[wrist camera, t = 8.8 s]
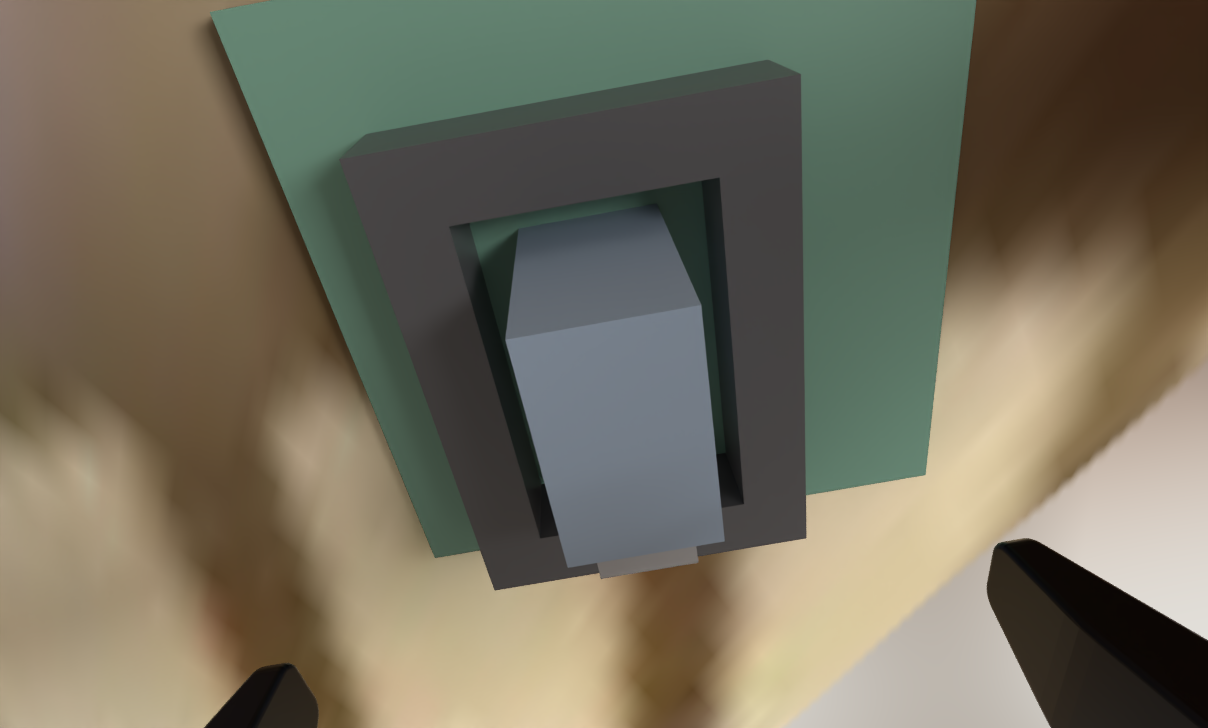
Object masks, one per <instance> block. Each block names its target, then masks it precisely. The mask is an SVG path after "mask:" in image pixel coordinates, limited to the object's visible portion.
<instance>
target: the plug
mask: <svg viewBox="0 0 1208 728" xmlns="http://www.w3.org/2000/svg"><path fill="white" fill-rule="evenodd" d="M505 341H506V344H507V348H508V351H509V355H510V359H511V362H512V366H513V370H514V373H515V377H516V381H517V384H518V388H519V392H520V395H521V399H522V403H523V406H524V410H525V414H526V417H527V421H528V424H529V428H530V432H531V435H532V439H533V443H534V446H535V450H536V454H537V457H538V461H539V465H540V468H541V472H542V476H543V479H544V483H545V487H546V490H547V494H548V497H549V501H550V505H551V508H552V512H553V516H554V519H555V523H556V527H557V530H558V534H559V538H560V541H561V545H562V549H563V552H564V556H565V559H566V563H567V567H568V568H570V567H576V566H582V565H588V564H594V563H597V565H598V569H599V573H600V578H601V579H603V578H609V577H615V576H621V575H627V574H633V573H639V572H645V571H651V570H657V569H663V568H669V567H675V566H681V565H687V564H693V563H698V556H697V548H696V546H700V545H706V544H712V543H718V542H724V541H725V539H724V529H723V519H722V509H721V499H720V489H719V479H718V469H717V458H716V448H715V438H714V428H713V418H712V408H711V398H710V388H709V378H708V368H707V358H706V348H705V338H704V328H703V318H702V308H701V303H700V301H699V299H698V297H697V294H696V292H695V290H694V288H693V285H692V283H691V281H690V278H689V276H688V274H687V272H686V269H685V267H684V265H683V262H682V260H681V258H680V256H679V253H678V251H677V249H676V247H675V244H674V242H673V240H672V237H671V235H670V233H669V231H668V228H667V226H666V224H665V221H664V219H663V217H662V215H661V212H660V210H659V208H658V206H657V203H656V204H651V205H645V206H640V207H634V208H629V209H623V210H618V211H612V212H607V213H601V214H596V215H590V216H585V217H579V218H574V219H568V220H563V221H557V222H552V223H546V224H541V225H535V226H530V227H524V228H519V230H518V238H517V247H516V255H515V263H514V272H513V280H512V288H511V297H510V305H509V313H508V322H507V330H506V338H505Z"/></svg>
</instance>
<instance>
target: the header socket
mask: <svg viewBox="0 0 1208 728" xmlns="http://www.w3.org/2000/svg"><path fill="white" fill-rule="evenodd" d="M339 161H340V163H341V166H342V169H343V172H344V174H345V177H346V180H347V183H348V185H349V188H350V191H351V194H352V197H353V199H354V202H355V205H356V208H357V210H358V213H359V216H360V219H361V221H362V224H363V227H364V230H365V233H366V235H367V238H368V241H369V244H370V246H371V249H372V252H373V255H374V257H375V260H376V263H377V266H378V269H379V271H380V274H381V277H382V280H383V282H384V285H385V288H386V291H387V293H388V296H389V299H390V302H391V305H392V307H393V310H394V313H395V316H396V318H397V321H398V324H399V327H400V329H401V332H402V335H403V338H404V341H405V343H406V346H407V349H408V352H409V354H410V357H411V360H412V363H413V365H414V368H415V371H416V374H417V377H418V379H419V382H420V385H421V388H422V390H423V393H424V396H425V399H426V401H427V404H428V407H429V410H430V413H431V415H432V418H433V421H434V424H435V426H436V429H437V432H438V435H439V437H440V440H441V443H442V446H443V449H444V451H445V454H446V457H447V460H448V462H449V465H450V468H451V471H452V473H453V476H454V479H455V482H456V485H457V487H458V490H459V493H460V496H461V498H462V501H463V504H464V507H465V509H466V512H467V515H468V518H469V521H470V523H471V526H472V529H473V532H474V534H475V537H476V540H477V543H478V545H479V548H480V551H481V554H482V557H483V559H484V562H485V565H486V568H487V570H488V573H489V576H490V579H491V581H492V584H493V587H494V590H500V589H506V588H512V587H518V586H524V585H530V584H536V583H542V582H548V581H554V580H560V579H566V578H572V577H578V576H584V575H590V574H596V573H599V569H598V565H597V563H594V564H588V565H582V566H576V567H570V568H568V567H567V563H566V559H565V556H564V552H563V549H562V545H561V541H560V538H559V534H558V530H557V527H556V523H555V519H554V516H553V512H552V508H551V505H550V501H549V497H548V494H547V490H546V487H545V484H541V482H540V478H539V474H538V471H537V467H536V463H535V460H534V456H533V453H532V449H531V445H530V442H529V438H528V434H527V431H526V427H525V424H524V420H523V416H522V413H521V409H520V406H519V402H518V398H517V395H516V391H515V387H514V384H513V380H512V377H511V373H510V369H509V366H508V362H507V358H506V355H505V351H504V348H503V344H502V340H501V337H500V333H499V329H498V326H497V322H496V319H495V315H494V311H493V308H492V304H491V301H490V297H489V293H488V290H487V286H486V282H485V279H484V275H483V272H482V268H481V264H480V261H479V257H478V253H477V250H476V246H475V243H474V239H473V235H472V232H471V228H470V224H469V223H471V222H477V221H482V220H488V219H493V218H499V217H504V216H510V215H515V214H521V213H526V212H532V211H537V210H543V209H548V208H554V207H559V206H565V205H571V204H576V203H582V202H587V201H593V200H598V199H604V198H609V197H615V196H620V195H626V194H631V193H637V192H642V191H648V190H653V189H659V188H664V187H670V186H675V185H681V184H686V183H692V182H697V181H702V191H703V202H704V214H705V225H706V236H707V247H708V259H709V270H710V281H711V292H712V304H713V315H714V326H715V337H716V349H717V360H718V371H719V383H720V394H721V405H722V416H723V428H724V439H725V450H726V453H721V454H716V458H717V469H718V479H719V489H720V499H721V509H722V519H723V529H724V539H725V541H724V542H718V543H712V544H706V545H700V546H696V548H697V556H703V555H709V554H715V553H721V552H727V551H733V550H739V549H745V548H751V547H757V546H763V545H769V544H775V543H781V542H787V541H793V540H799V539H805V538H806V463H805V377H804V291H803V205H802V119H801V74H800V73H797V72H795V71H793V70H791V69H789V68H786V67H784V66H782V65H780V64H777V63H775V62H773V61H771V60H763V61H757V62H752V63H747V64H741V65H736V66H730V67H725V68H720V69H714V70H709V71H703V72H698V73H693V74H687V75H682V76H677V77H671V78H666V79H660V80H655V81H650V82H644V83H639V84H633V85H628V86H623V87H617V88H612V89H606V90H601V91H596V92H590V93H585V94H579V95H574V96H569V97H563V98H558V99H552V100H547V101H542V102H536V103H531V104H525V105H520V106H515V107H509V108H504V109H499V110H493V111H488V112H482V113H477V114H472V115H466V116H461V117H455V118H450V119H445V120H439V121H434V122H428V123H423V124H418V125H412V126H407V127H401V128H396V129H391V130H385V131H380V132H374V133H369V134H366V135H365V136H364V137H362V138H361V139H360V140H359V141H358V142H357V143H356V144H355V145H354V146H353V147H352V148H351V149H350V150H349V151H347V152H346V153H345V154H344V155H343V156H342V157H341V158H340V159H339Z"/></svg>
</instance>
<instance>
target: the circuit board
mask: <svg viewBox="0 0 1208 728" xmlns="http://www.w3.org/2000/svg"><path fill="white" fill-rule="evenodd" d="M975 8H976V0H271V1H265V2H260V3H255V4H250V5H244V6H239V7H234V8H229V9H224V10H218V11H213V12H210V14H211V17H212V19H213V22H214V24H215V26H216V29H217V31H218V34H219V36H220V39H221V41H222V43H223V46H224V48H225V51H226V53H227V55H228V58H229V60H230V63H231V65H232V68H233V70H234V72H235V75H236V77H237V80H238V82H239V85H240V87H241V89H242V92H243V94H244V97H245V99H246V101H247V104H248V106H249V109H250V111H251V114H252V116H253V118H254V121H255V123H256V126H257V128H258V131H259V133H260V135H261V138H262V140H263V143H264V145H265V147H266V150H267V152H268V155H269V157H270V160H271V162H272V164H273V167H274V169H275V172H276V174H277V177H278V179H279V181H280V184H281V186H282V189H283V191H284V193H285V196H286V198H287V201H288V203H289V206H290V208H291V210H292V213H293V215H294V218H295V220H296V223H297V225H298V227H299V230H300V232H301V235H302V237H303V240H304V242H305V244H306V247H307V249H308V252H309V254H310V256H311V259H312V261H313V264H314V266H315V269H316V271H317V273H318V276H319V278H320V281H321V283H322V286H323V288H324V290H325V293H326V295H327V298H328V300H329V302H330V305H331V307H332V310H333V312H334V315H335V317H336V319H337V322H338V324H339V327H340V329H341V332H342V334H343V336H344V339H345V341H346V344H347V346H348V348H349V351H350V353H351V356H352V358H353V361H354V363H355V365H356V368H357V370H358V373H359V375H360V378H361V380H362V382H363V385H364V387H365V390H366V392H367V394H368V397H369V399H370V402H371V404H372V407H373V409H374V411H375V414H376V416H377V419H378V421H379V424H380V426H381V428H382V431H383V433H384V436H385V438H386V441H387V443H388V445H389V448H390V450H391V453H392V455H393V457H394V460H395V462H396V465H397V467H398V470H399V472H400V474H401V477H402V479H403V482H404V484H405V487H406V489H407V491H408V494H409V496H410V499H411V501H412V503H413V506H414V508H415V511H416V513H417V516H418V518H419V520H420V523H421V525H422V528H423V530H424V533H425V535H426V537H427V540H428V542H429V545H430V547H431V549H432V552H433V554H434V557H435V558H438V557H444V556H450V555H456V554H461V553H467V552H473V551H479V550H480V548H479V545H478V543H477V540H476V537H475V534H474V532H473V529H472V526H471V523H470V521H469V518H468V515H467V512H466V509H465V507H464V504H463V501H462V498H461V496H460V493H459V490H458V487H457V485H456V482H455V479H454V476H453V473H452V471H451V468H450V465H449V462H448V460H447V457H446V454H445V451H444V449H443V446H442V443H441V440H440V437H439V435H438V432H437V429H436V426H435V424H434V421H433V418H432V415H431V413H430V410H429V407H428V404H427V401H426V399H425V396H424V393H423V390H422V388H421V385H420V382H419V379H418V377H417V374H416V371H415V368H414V365H413V363H412V360H411V357H410V354H409V352H408V349H407V346H406V343H405V341H404V338H403V335H402V332H401V329H400V327H399V324H398V321H397V318H396V316H395V313H394V310H393V307H392V305H391V302H390V299H389V296H388V293H387V291H386V288H385V285H384V282H383V280H382V277H381V274H380V271H379V269H378V266H377V263H376V260H375V257H374V255H373V252H372V249H371V246H370V244H369V241H368V238H367V235H366V233H365V230H364V227H363V224H362V221H361V219H360V216H359V213H358V210H357V208H356V205H355V202H354V199H353V197H352V194H351V191H350V188H349V185H348V183H347V180H346V177H345V174H344V172H343V169H342V166H341V163H340V161H339V159H340V158H341V157H342V156H343V155H344V154H345V153H346V152H347V151H349V150H350V149H351V148H352V147H353V146H354V145H355V144H356V143H357V142H358V141H359V140H360V139H361V138H362V137H364V136H365V135H366V134H369V133H374V132H380V131H385V130H391V129H396V128H401V127H407V126H412V125H418V124H423V123H428V122H434V121H439V120H445V119H450V118H455V117H461V116H466V115H472V114H477V113H482V112H488V111H493V110H499V109H504V108H509V107H515V106H520V105H525V104H531V103H536V102H542V101H547V100H552V99H558V98H563V97H569V96H574V95H579V94H585V93H590V92H596V91H601V90H606V89H612V88H617V87H623V86H628V85H633V84H639V83H644V82H650V81H655V80H660V79H666V78H671V77H677V76H682V75H687V74H693V73H698V72H703V71H709V70H714V69H720V68H725V67H730V66H736V65H741V64H747V63H752V62H757V61H763V60H771V61H773V62H775V63H777V64H780V65H782V66H784V67H786V68H789V69H791V70H793V71H795V72H797V73H800V74H801V119H802V205H803V291H804V377H805V463H806V495H810V494H816V493H822V492H828V491H834V490H840V489H846V488H852V487H857V486H863V485H869V484H875V483H881V482H887V481H893V480H899V479H905V478H911V477H917V476H923V475H925V474H926V465H927V456H928V446H929V437H930V428H931V418H932V409H933V400H934V390H935V381H936V372H937V362H938V353H939V344H940V334H941V325H942V316H943V306H944V297H945V288H946V278H947V269H948V260H949V250H950V241H951V232H952V222H953V213H954V204H955V194H956V185H957V176H958V166H959V157H960V148H961V138H962V129H963V120H964V110H965V101H966V92H967V82H968V73H969V64H970V54H971V45H972V36H973V26H974V17H975ZM656 203H657V206H658V208H659V210H660V212H661V215H662V217H663V219H664V221H665V224H666V226H667V228H668V231H669V233H670V235H671V237H672V240H673V242H674V244H675V247H676V249H677V251H678V253H679V256H680V258H681V260H682V262H683V265H684V267H685V269H686V272H687V274H688V276H689V278H690V281H691V283H692V285H693V288H694V290H695V292H696V294H697V297H698V299H699V301H700V303H701V308H702V318H703V328H704V338H705V348H706V358H707V368H708V378H709V388H710V398H711V408H712V418H713V428H714V438H715V448H716V454H721V453H726V450H725V439H724V428H723V416H722V405H721V394H720V383H719V371H718V360H717V349H716V337H715V326H714V315H713V304H712V292H711V281H710V270H709V259H708V247H707V236H706V225H705V214H704V202H703V191H702V181H697V182H692V183H686V184H681V185H675V186H670V187H664V188H659V189H653V190H648V191H642V192H637V193H631V194H626V195H620V196H615V197H609V198H604V199H598V200H593V201H587V202H582V203H576V204H571V205H565V206H559V207H554V208H548V209H543V210H537V211H532V212H526V213H521V214H515V215H510V216H504V217H499V218H493V219H488V220H482V221H477V222H471V223H469V224H470V228H471V232H472V235H473V239H474V243H475V246H476V250H477V253H478V257H479V261H480V264H481V268H482V272H483V275H484V279H485V282H486V286H487V290H488V293H489V297H490V301H491V304H492V308H493V311H494V315H495V319H496V322H497V326H498V329H499V333H500V337H501V340H502V344H503V348H504V351H505V355H506V358H507V362H508V366H509V369H510V373H511V377H512V380H513V384H514V387H515V391H516V395H517V398H518V402H519V406H520V409H521V413H522V416H523V420H524V424H525V427H526V431H527V434H528V438H529V442H530V445H531V449H532V453H533V456H534V460H535V463H536V467H537V471H538V474H539V478H540V482H541V484H545V483H544V479H543V476H542V472H541V468H540V465H539V461H538V457H537V454H536V450H535V446H534V443H533V439H532V435H531V432H530V428H529V424H528V421H527V417H526V414H525V410H524V406H523V403H522V399H521V395H520V392H519V388H518V384H517V381H516V377H515V373H514V370H513V366H512V362H511V359H510V355H509V351H508V348H507V344H506V341H505V338H506V330H507V322H508V313H509V305H510V297H511V288H512V280H513V272H514V263H515V255H516V247H517V238H518V230H519V228H524V227H530V226H535V225H541V224H546V223H552V222H557V221H563V220H568V219H574V218H579V217H585V216H590V215H596V214H601V213H607V212H612V211H618V210H623V209H629V208H634V207H640V206H645V205H651V204H656Z"/></svg>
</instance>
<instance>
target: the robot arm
mask: <svg viewBox="0 0 1208 728" xmlns="http://www.w3.org/2000/svg"><path fill="white" fill-rule="evenodd" d="M987 595H988V599H989V602H990V605H991V607H992V609H993V611H994V613H995V615H996V618H997V620H998V622H999V624H1000V626H1001V628H1002V630H1003V632H1004V634H1005V636H1006V638H1007V640H1008V642H1009V644H1010V646H1011V648H1012V650H1013V653H1014V655H1015V657H1016V659H1017V661H1018V663H1019V665H1020V667H1021V669H1022V671H1023V673H1024V675H1025V677H1026V679H1027V681H1028V683H1029V685H1030V687H1031V690H1032V692H1033V694H1034V696H1035V698H1036V700H1037V702H1038V704H1039V706H1040V708H1041V710H1042V712H1043V714H1044V715H1045V717H1046V719H1047V721H1048V723H1049V725H1050V727H1051V728H1208V640H1207V639H1205V638H1203V637H1201V636H1200V635H1198V634H1196V633H1195V632H1193V631H1191V630H1189V629H1187V628H1186V627H1184V626H1182V625H1181V624H1179V623H1177V622H1176V621H1174V620H1172V619H1170V618H1169V617H1167V616H1165V615H1164V614H1162V613H1160V612H1158V611H1156V610H1155V609H1153V608H1152V607H1150V606H1148V605H1146V604H1145V603H1143V602H1141V601H1140V600H1138V599H1136V598H1134V597H1133V596H1131V595H1129V594H1128V593H1126V592H1124V591H1122V590H1121V589H1119V588H1117V587H1116V586H1114V585H1112V584H1110V583H1109V582H1107V581H1105V580H1103V579H1102V578H1100V577H1098V576H1097V575H1095V574H1093V573H1091V572H1090V571H1088V570H1086V569H1084V568H1083V567H1081V566H1079V565H1078V564H1076V563H1074V562H1073V561H1071V560H1069V559H1067V558H1066V557H1064V556H1062V555H1061V554H1059V553H1057V552H1055V551H1054V550H1052V549H1050V548H1048V547H1047V546H1045V545H1043V544H1041V543H1040V542H1038V541H1035V540H1033V539H1029V538H1023V539H1017V540H1011V541H1005V542H1001V543H998V544H997V545H996V546H995V548H994V550H993V555H992V560H991V566H990V571H989V576H988V582H987ZM318 717H319V710H318V704H317V700H316V698H315V696H314V694H313V693H312V691H311V690H310V688H309V687H308V685H307V683H306V682H305V680H304V679H303V677H302V676H301V674H300V672H299V671H298V669H297V668H296V667H295V666H294V665H293V664H290V663H282V664H276V665H270V666H265V667H261V668H259V669H257V670H256V671H255V672H254V673H253V674H252V675H251V676H250V677H249V678H248V679H247V680H246V681H245V682H244V683H243V685H242V686H241V687H240V688H239V689H238V690H237V691H236V692H235V693H234V695H233V696H232V697H231V698H230V699H229V700H228V701H227V702H226V704H225V705H224V706H223V707H222V708H221V709H220V710H219V711H218V713H217V714H216V715H215V716H214V717H213V718H212V719H211V720H210V722H209V723H208V724H207V725H206V726H205V727H204V728H317V726H318Z"/></svg>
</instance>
